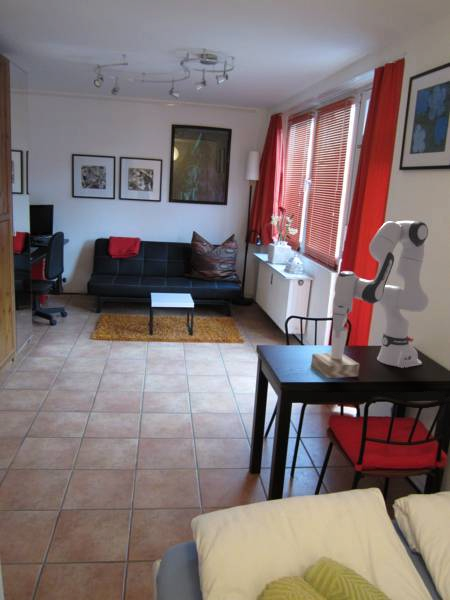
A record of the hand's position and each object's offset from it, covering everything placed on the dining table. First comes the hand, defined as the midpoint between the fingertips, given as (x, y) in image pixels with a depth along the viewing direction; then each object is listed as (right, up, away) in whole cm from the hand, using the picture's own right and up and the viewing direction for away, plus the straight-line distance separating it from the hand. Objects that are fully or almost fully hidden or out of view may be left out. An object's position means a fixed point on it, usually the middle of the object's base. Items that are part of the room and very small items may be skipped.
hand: (338, 334), depth 238 cm
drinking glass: (0, -12, +4) cm, 12 cm away
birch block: (-1, -17, +4) cm, 18 cm away
